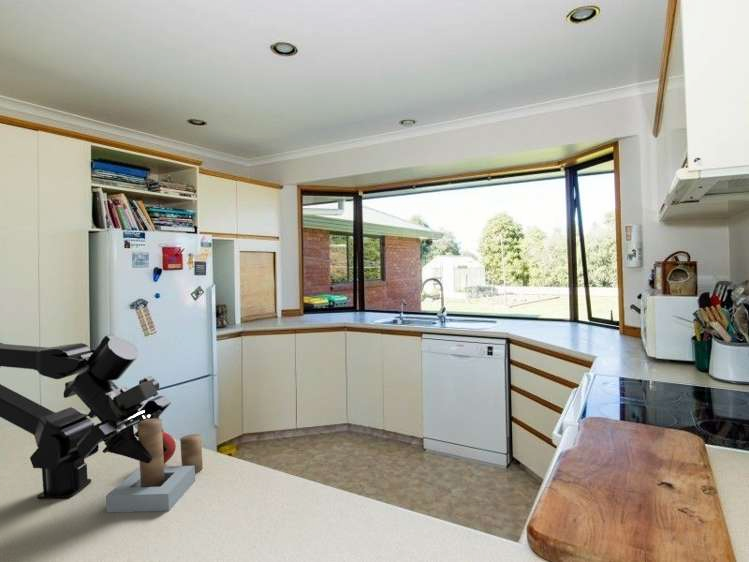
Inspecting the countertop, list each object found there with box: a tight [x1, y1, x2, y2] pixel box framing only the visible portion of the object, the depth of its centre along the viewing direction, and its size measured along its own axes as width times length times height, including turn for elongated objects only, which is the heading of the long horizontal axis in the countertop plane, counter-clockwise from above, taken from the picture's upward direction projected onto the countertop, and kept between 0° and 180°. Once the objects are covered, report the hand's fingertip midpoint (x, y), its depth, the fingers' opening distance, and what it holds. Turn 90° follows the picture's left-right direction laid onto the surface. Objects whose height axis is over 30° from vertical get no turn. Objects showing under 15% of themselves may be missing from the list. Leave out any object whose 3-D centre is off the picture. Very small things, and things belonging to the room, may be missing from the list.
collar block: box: [105, 465, 196, 513], centre depth 84 cm, size 11×11×3 cm
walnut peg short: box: [179, 433, 204, 474], centre depth 94 cm, size 4×4×7 cm
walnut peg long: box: [137, 417, 165, 487], centre depth 84 cm, size 4×4×13 cm
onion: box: [162, 427, 177, 465], centre depth 97 cm, size 6×6×8 cm
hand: (158, 456), depth 84 cm, fingers closed on walnut peg long, 4 cm apart
